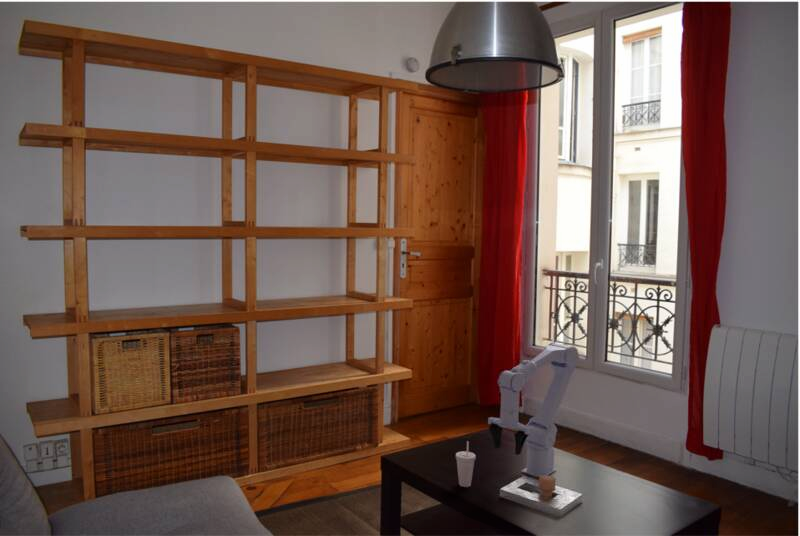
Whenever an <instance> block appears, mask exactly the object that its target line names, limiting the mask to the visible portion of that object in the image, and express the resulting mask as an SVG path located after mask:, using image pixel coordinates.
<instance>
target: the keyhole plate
mask: <svg viewBox="0 0 800 536" xmlns="http://www.w3.org/2000/svg"><path fill="white" fill-rule="evenodd" d="M499 497H500V498H502V499H506V500H508V501H512V502H515V503H517V504H520V505H522V506H525V507H529V508H531V509H534V510H538V511H539V512H543V513H545V514H549V515H552V516H555V517H558V518H561V517H563V516H565V515H567V513H569V512H570V511H572V510H573V509H574V508H576V507H577V506H578V505H580V504H581V503H583V493H580V492H578V491H574V490H571V489H567V488H564V487H562V486H561V487H560V486H558V485H555V491H552V498H549V497H546V496H543V495H542V490H540V489H539V479H536V478H533V477H528V476H526V475H523V476H521V477H518V478H517V479H515V480H514V481H512V482H510V483H508V484H506V485H505V486H503V487H501V488H499Z"/></svg>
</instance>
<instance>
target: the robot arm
mask: <svg viewBox="0 0 800 536" xmlns="http://www.w3.org/2000/svg"><path fill="white" fill-rule="evenodd" d="M578 351H579V350H578V349H577V347H576V346H573V345H571V346H570V345H567V344H566V345H565V344H561V343H558V342H557V343H556V342H553V341H552V342H550V343H548V344H547V345H545V346H544V350H543V351H541V352H540V353H539V354H538V355H536V356H535V357H534V358H532V359H531V360H528V359H526V360H525V359H523V360H522V361H521V363H518V365H516V366H514V367H512V369H510V370H504V371H502V372H500V374H499V377H498V379H497V385H498V386H499V392H500V393H501V395H500V414H499V415H500V416H499V417H493V416H491V417H488V419H487V424H488V425H489V427H488V430H489V433H490V434H491V436H492V440H493V444H494V449H496V450H498V449H500V448H501V444H502V433H503V429H504V428H505V429H509V430H512V431H516V432H514V434H513V435H514V441H515V451H514V452H515V455H516V456H519V455H521V454H522V450H523V446H524V444H525V445H527V455H526V456H527V458H526V468H524V469H522V470H521V473H524V474H527V475H529V476H533V477H536V478H539V477H540V476H543V475H547V476H550V475H551V474H553V473H554V472H556V471H557V469H556V468H554V467H555V450H554V448H553V447H554V444H555V442H556V437H557V432H558V428H557V426H556V424H555V423H554V421H555V418H556V415H557V413H558V411H559V408H560V406H561V403H562V401H563V399H564V397H565V393H566V390H567V388H568V387H569V384H570V381H571V378H572V376H573V373H574V372H575V370H576V367H577V364H578V362H579V360H580V356H579V352H578ZM549 364H550V367H551V368H552V369H553V370H554V375H553V378H552V380H551V382H550V385H549V387H548V389H547V392H546V395H545V396H544V399H543V400H542V401H543V402H542V405H541V407H540V409H539V412H538V414H537V415H535V416H533V417H530V418H529V420H528V423H527V424H524V423H520V422H519V417H520V416H519V411H520V392H521V391H522V390H523V388H524V387H525V385H526V383H527V382H528V381H529V380H531V379H532V378H534V377H536V376H537V374H538V370H540V369H541V368H543V367H545V366H547V365H549Z"/></svg>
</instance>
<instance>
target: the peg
mask: <svg viewBox="0 0 800 536" xmlns="http://www.w3.org/2000/svg"><path fill="white" fill-rule="evenodd" d="M538 480H539V489H540V490H542V495H543V496H546V497H549V498H552V491H555V486H556V482H557V481H556V477H554V476H551V475H548V476H547V475H543V476H540V477H538Z"/></svg>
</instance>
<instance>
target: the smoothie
mask: <svg viewBox="0 0 800 536" xmlns="http://www.w3.org/2000/svg"><path fill="white" fill-rule="evenodd" d="M469 443H470V442H469V441H468V440H467V441H466V450H465V451H463V450H462V451H458V452H456V453H455V459H456V467H457V477H458V478H457V479H458V485H459V486H460V487H464V488H469V487H471V485H472V480H473V479H472V478H473V473H474V467H475V460H476V459H477V457H476V454H475V453H474V452H471V451H469V450H470V449H469V445H470V444H469Z"/></svg>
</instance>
